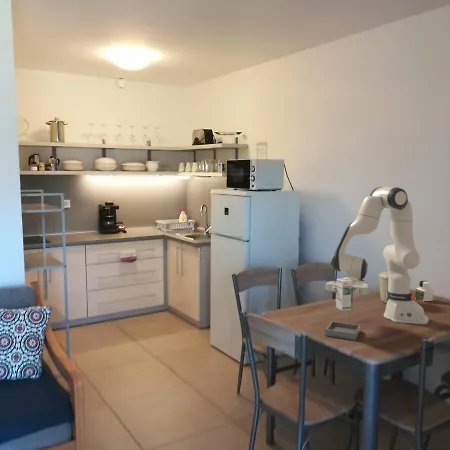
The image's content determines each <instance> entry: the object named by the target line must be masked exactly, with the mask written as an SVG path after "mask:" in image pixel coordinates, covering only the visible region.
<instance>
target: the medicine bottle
mask: <svg viewBox="0 0 450 450" xmlns="http://www.w3.org/2000/svg"><path fill="white" fill-rule="evenodd" d="M418 286H419V287H415V294H414V300H416V299H418V300H420V301H419V302H421V301H423V302H422V303H425V302H424V301H432V302H433V299H434V298H433V297H434V295H433V294H434V290H433V289H430V288H431V282H430V281H428V280H420V281H419V285H418ZM418 300H417V301H418Z"/></svg>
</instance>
